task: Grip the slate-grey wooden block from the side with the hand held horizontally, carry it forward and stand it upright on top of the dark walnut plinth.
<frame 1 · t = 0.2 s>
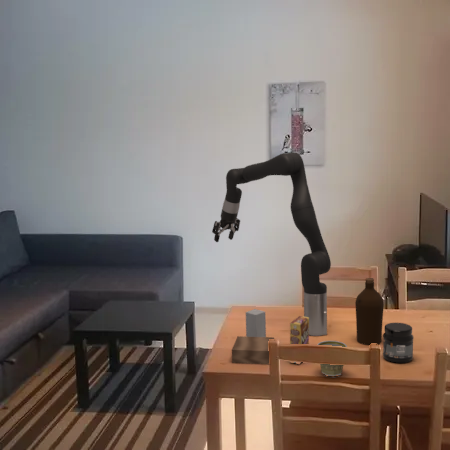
hand: (223, 240, 287), 31 cm above the table, tool tilted 20°, fingers open, 8 cm apart
ceramic cup: (336, 374, 208), on the table
supplement container: (397, 359, 220), on the table
walnut plinth: (253, 356, 226), on the table
olive oil: (369, 341, 238), on the table
candy box: (299, 360, 221), on the table
grey block: (256, 341, 242), on the table
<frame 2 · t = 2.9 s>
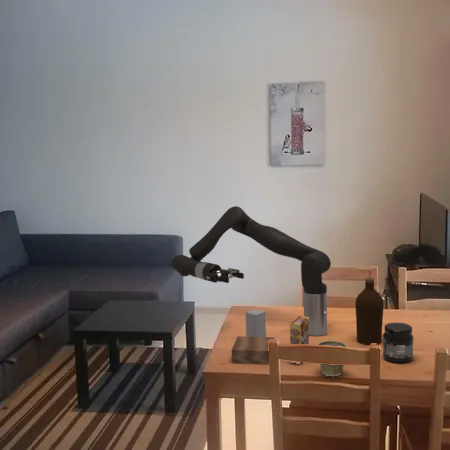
hand: (236, 278, 245), 24 cm above the table, tool horizontal, fingers open, 8 cm apart
nothing on the table moved.
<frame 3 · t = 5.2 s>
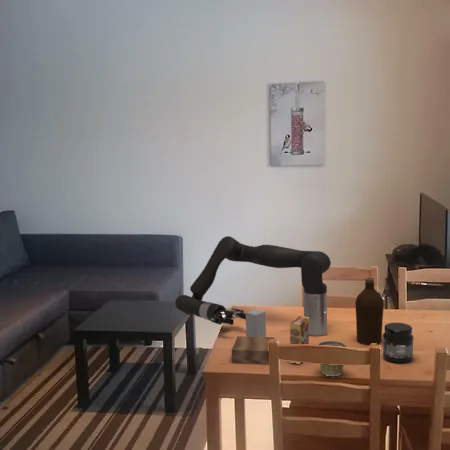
hand: (240, 319, 246), 7 cm above the table, tool horizontal, fingers open, 8 cm apart
nothing on the table moved.
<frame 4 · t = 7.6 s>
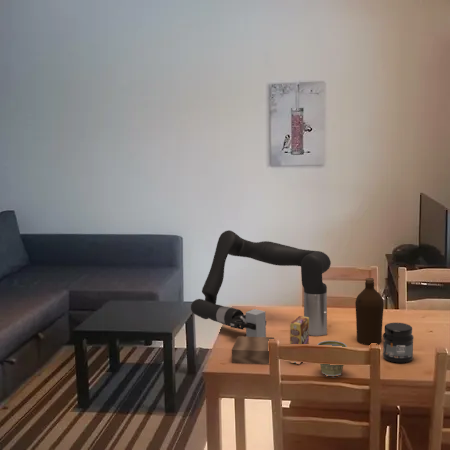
hand: (260, 325, 239), 7 cm above the table, tool horizontal, fingers closed on grey block, 5 cm apart
grey block: (256, 340, 242), on the table, touching gripper
everything else where it was.
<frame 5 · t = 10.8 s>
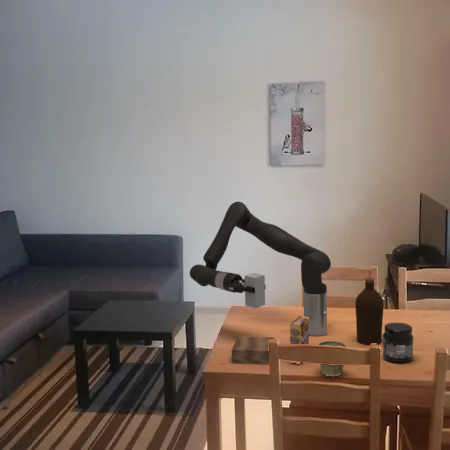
hand: (259, 288, 236), 22 cm above the table, tool horizontal, fingers closed on grey block, 5 cm apart
grey block: (255, 305, 239), point 15 cm above the table, touching gripper
everything else where it was.
when the fingers open (13 cm above the table, at t = 14.3 s): grey block drops 1 cm, resting on walnut plinth.
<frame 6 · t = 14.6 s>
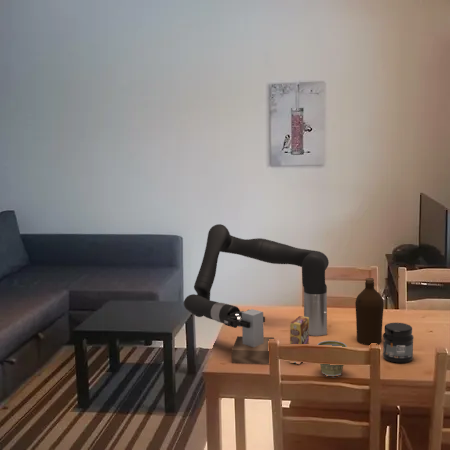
hand: (257, 322, 222), 14 cm above the table, tool horizontal, fingers open, 7 cm apart
grey block: (253, 343, 225), point 5 cm above the table, touching walnut plinth
everything else where it was.
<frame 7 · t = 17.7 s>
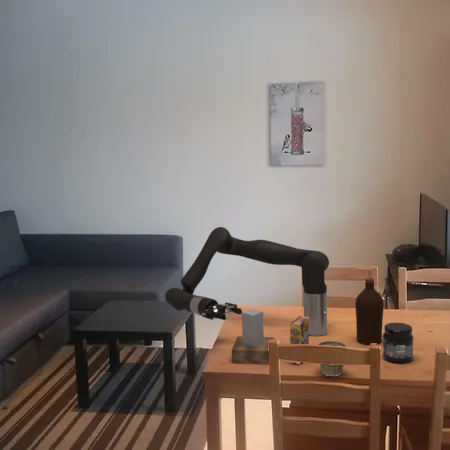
hand: (233, 314, 231), 14 cm above the table, tool horizontal, fingers open, 8 cm apart
nothing on the table moved.
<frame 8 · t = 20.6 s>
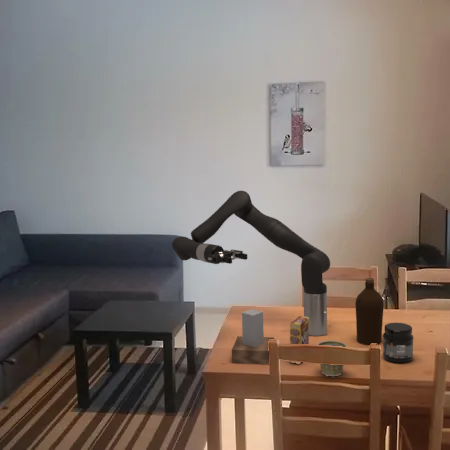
hand: (239, 258, 234), 34 cm above the table, tool horizontal, fingers open, 8 cm apart
nothing on the table moved.
at the end: grey block inside the target area on the walnut plinth (0.1 cm from its centre), point 5.0 cm above the walnut plinth's base; grey block tilted 0°; the gripper is holding nothing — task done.
